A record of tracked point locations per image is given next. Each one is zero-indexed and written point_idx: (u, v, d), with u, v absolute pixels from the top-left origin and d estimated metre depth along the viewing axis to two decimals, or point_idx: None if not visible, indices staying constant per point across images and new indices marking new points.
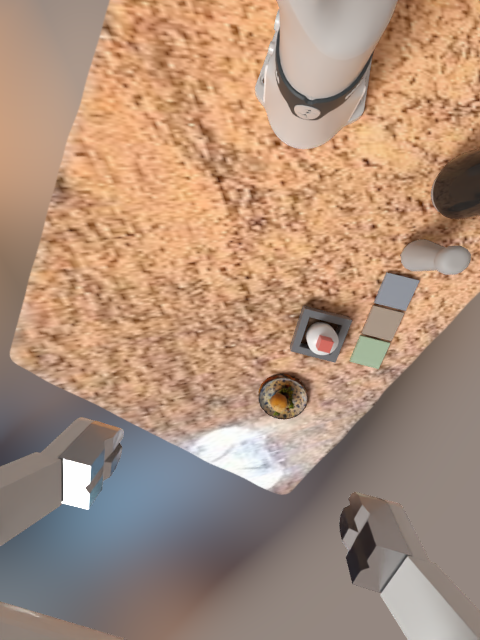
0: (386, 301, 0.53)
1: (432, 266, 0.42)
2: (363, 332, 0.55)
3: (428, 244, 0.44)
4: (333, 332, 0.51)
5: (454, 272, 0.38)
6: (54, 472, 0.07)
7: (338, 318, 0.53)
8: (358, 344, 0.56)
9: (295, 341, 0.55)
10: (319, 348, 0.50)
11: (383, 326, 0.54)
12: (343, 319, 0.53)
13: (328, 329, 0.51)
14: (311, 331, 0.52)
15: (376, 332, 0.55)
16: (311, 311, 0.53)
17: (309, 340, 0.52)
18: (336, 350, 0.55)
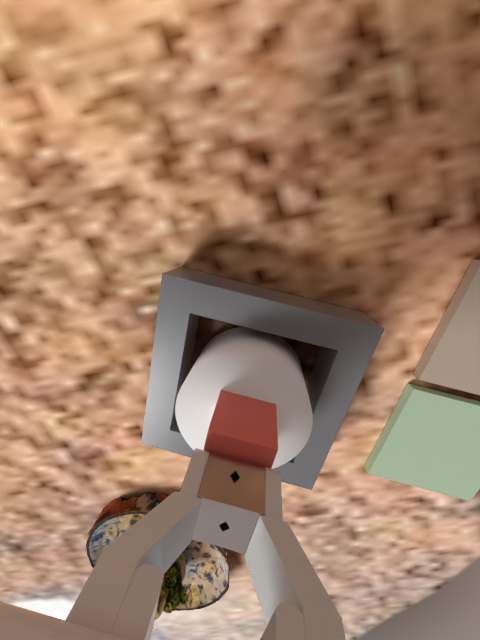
0: None
1: None
2: (424, 375, 0.14)
3: None
4: (286, 380, 0.10)
5: None
6: (195, 511, 0.07)
7: (319, 319, 0.11)
8: (401, 418, 0.15)
9: (151, 411, 0.14)
10: None
11: None
12: (343, 323, 0.11)
13: (261, 366, 0.10)
14: (191, 371, 0.11)
15: (479, 376, 0.13)
16: (194, 286, 0.11)
17: (181, 412, 0.11)
18: (314, 449, 0.13)
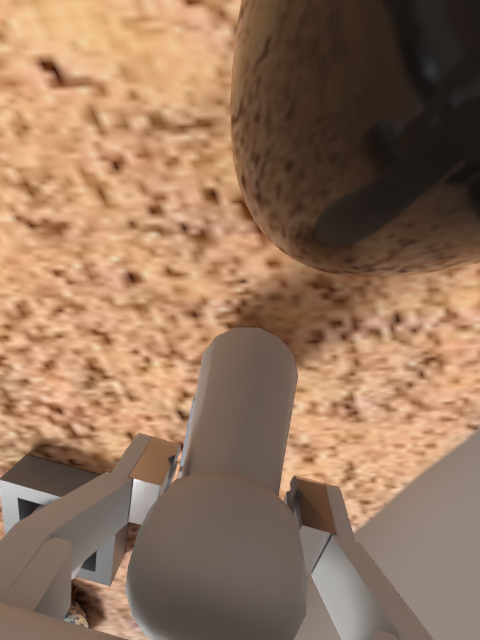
0: None
1: None
2: None
3: (227, 371, 0.11)
4: None
5: None
6: (125, 492, 0.07)
7: None
8: None
9: None
10: None
11: None
12: None
13: None
14: None
15: None
16: (16, 486, 0.21)
17: None
18: (104, 565, 0.23)
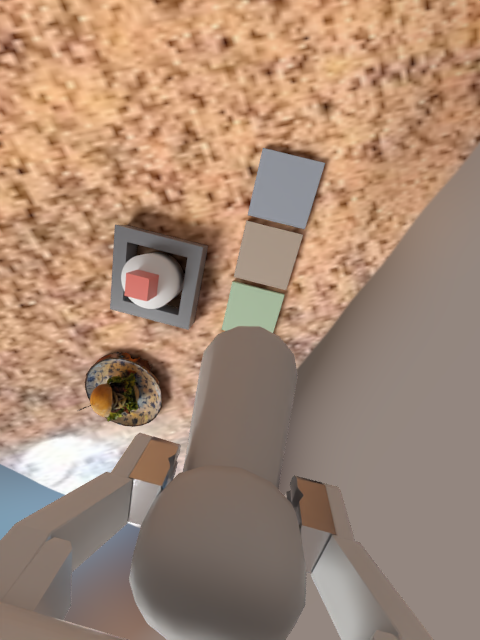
0: (268, 209, 0.28)
1: None
2: (235, 274, 0.30)
3: (228, 369, 0.11)
4: (161, 264, 0.27)
5: None
6: (126, 492, 0.07)
7: (178, 243, 0.28)
8: (230, 297, 0.31)
9: (113, 290, 0.31)
10: (126, 291, 0.26)
11: (268, 262, 0.29)
12: (187, 245, 0.28)
13: (151, 258, 0.27)
14: None
15: (258, 274, 0.30)
16: (128, 230, 0.28)
17: (123, 281, 0.28)
18: (186, 307, 0.30)
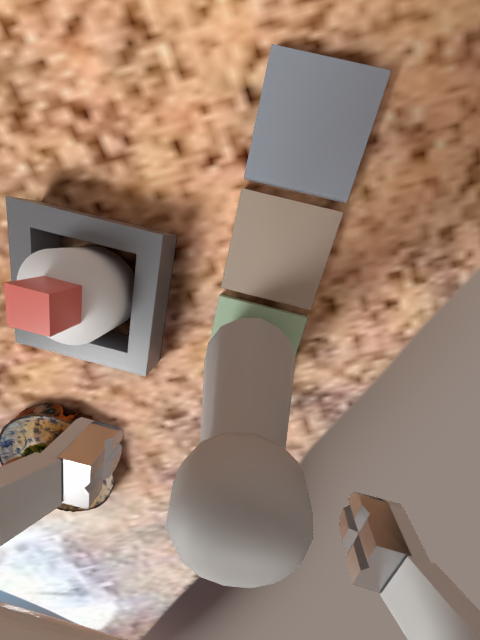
0: (281, 166, 0.15)
1: None
2: (224, 283, 0.18)
3: (235, 356, 0.13)
4: (84, 265, 0.15)
5: None
6: (54, 472, 0.07)
7: (118, 228, 0.15)
8: (216, 322, 0.19)
9: None
10: (10, 318, 0.14)
11: (281, 262, 0.17)
12: (135, 232, 0.15)
13: (65, 255, 0.15)
14: None
15: (262, 283, 0.17)
16: (29, 206, 0.16)
17: None
18: (139, 339, 0.18)
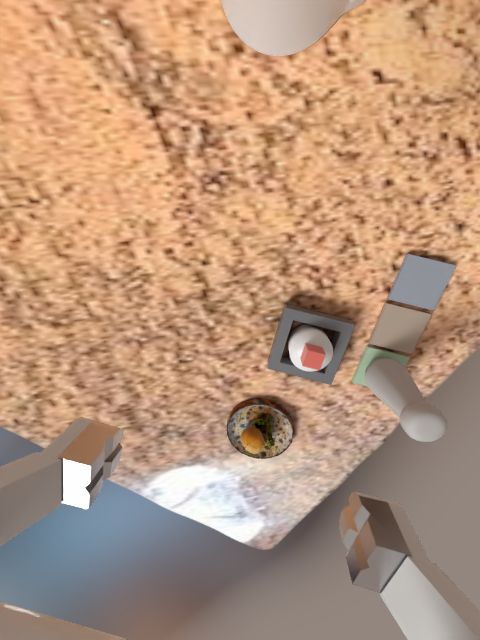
0: (406, 296, 0.36)
1: (399, 415, 0.31)
2: (371, 341, 0.38)
3: (396, 377, 0.33)
4: (325, 339, 0.35)
5: (425, 441, 0.28)
6: (54, 472, 0.07)
7: (335, 322, 0.36)
8: (364, 358, 0.39)
9: (273, 355, 0.39)
10: (305, 363, 0.34)
11: (400, 333, 0.37)
12: (342, 323, 0.36)
13: (318, 335, 0.35)
14: (294, 338, 0.36)
15: (390, 342, 0.38)
16: (295, 311, 0.36)
17: (291, 350, 0.36)
18: (332, 367, 0.38)
